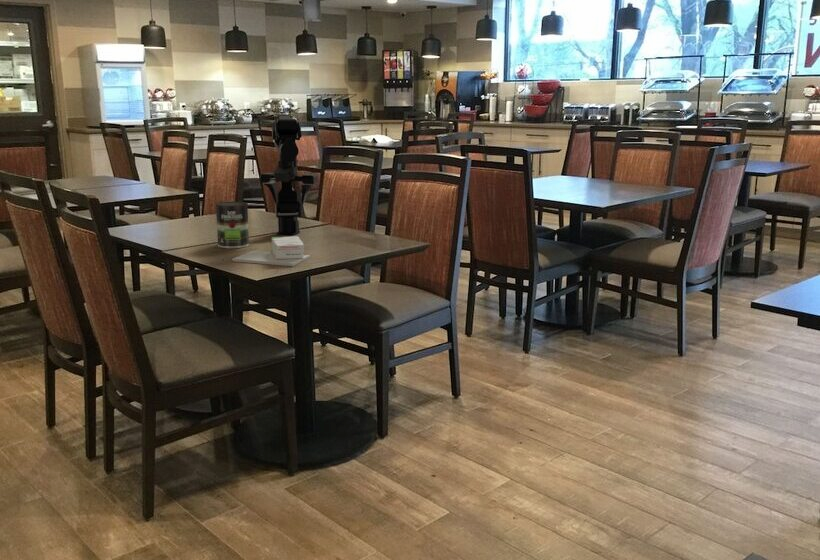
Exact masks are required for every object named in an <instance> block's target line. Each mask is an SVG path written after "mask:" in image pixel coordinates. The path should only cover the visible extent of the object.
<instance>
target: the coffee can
mask: <svg viewBox="0 0 820 560" xmlns="http://www.w3.org/2000/svg"><path fill="white" fill-rule="evenodd" d="M248 206H249V203H248V202H244V201H220V202H217V203H215V208H216V210H215V211H216V212H215V214H216V229H217V231H216V232H217V234H216V235H217V247H218V248H221V249H242V248H243V249H244V248H247V247H249V246H250V239H249V213H248Z"/></svg>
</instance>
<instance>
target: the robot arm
mask: <svg viewBox="0 0 820 560" xmlns="http://www.w3.org/2000/svg"><path fill="white" fill-rule="evenodd" d="M271 135H272V136H271V138H272V139H271V140H273V141H274V144H273V145H274V147H275V149H276V150H277V152H278V154H279V155H278V156H279V157H278V158H279V160H278V162H277V165H278V166H277V167H276V169H275V170H274V171H273V172H264V173H261V174H260V175H259V183H260V184H261V183H263V185H264V186H266V187H267V188H268V189H269V191H270V193H271V196H272V198H273V201H274V204H275V218H277V225H278V226H277V228H278V231H276V233H275V234H276V235H285V236H286V235H290V236H293V235H294V236H295V235H296V234H298V233H300V232H301V230H300V220H298V218H300V217H302V205H303V206H304V204H305V202H306V198H307V196H308V193H309V192H310V189H311V186H314V185H315V184H317V183H319V177H318V175H317V174H316V173H305V174H302V175H299V172H298V163H299V160H298V158H297V157H298V155H299V153H300V152H299V148H298V144H297V142H296V141H301V139H302V127H301V125H300V122H298V121H297V118H292V115H291V114H286V113H285V114H283V113H282V114H280V113H279V114H277V115H276V120H274V122H273V123H272V124H271ZM279 182H280V190H278V189H279V188H278V183H279ZM293 182H302V184H301V185H300V186H301V198H300V199H299V200H298V194H297V191H296V190H295V189H294V188H293ZM300 200H301V202H300Z"/></svg>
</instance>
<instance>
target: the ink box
mask: <svg viewBox="0 0 820 560" xmlns="http://www.w3.org/2000/svg"><path fill="white" fill-rule="evenodd" d="M270 239H271V240H270V241H271V252H272V253H273V254H274V256H275V258H276V259H295V258H303V257H304V255H305V254H304V245H305V243H304V242H303V241H302V240H301V239H300V237H299V236H297V235H296V236H295V235H294V236H293V235H290V236H272V237H271V238H270Z"/></svg>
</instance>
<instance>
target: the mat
mask: <svg viewBox="0 0 820 560" xmlns="http://www.w3.org/2000/svg"><path fill="white" fill-rule="evenodd" d="M310 258H311V255H309V254H304V257H303V258H295V259H276V258H275V256H274V254H273V252H272V251H271V252H269V251H257V250H251V251H248V252H246V253H243V254H241V255H237V256H236V257H233V258H231V259H232V262H237V263H247V264H248V263H249V264H259V265H261V264H262V265H274V266H283V267H284V266H285V267H294V266H296V265H299V264H301V263H303V262H304V261H307V260H309V259H310Z"/></svg>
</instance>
